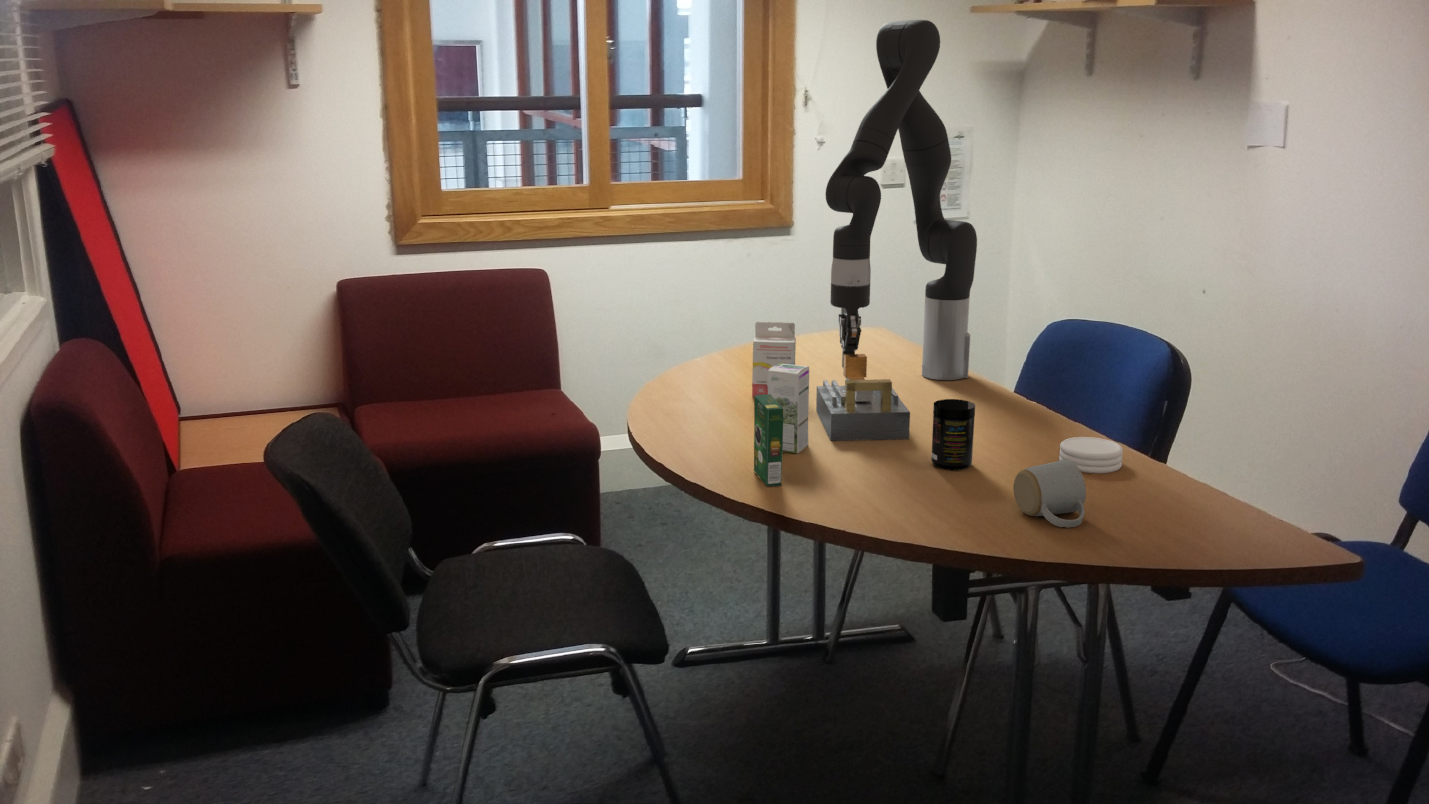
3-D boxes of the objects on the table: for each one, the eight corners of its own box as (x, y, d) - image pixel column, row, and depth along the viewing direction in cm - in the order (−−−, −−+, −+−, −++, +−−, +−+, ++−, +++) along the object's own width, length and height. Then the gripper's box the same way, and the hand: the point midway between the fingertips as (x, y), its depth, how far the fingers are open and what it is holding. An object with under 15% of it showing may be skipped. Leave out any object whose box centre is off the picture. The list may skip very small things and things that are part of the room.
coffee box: (783, 486, 183) (784, 406, 180) (766, 488, 182) (766, 407, 179) (770, 470, 191) (770, 393, 187) (753, 471, 190) (753, 394, 187)
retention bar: (863, 384, 223) (864, 353, 221) (875, 401, 211) (876, 369, 210) (843, 384, 223) (843, 354, 221) (853, 401, 211) (854, 369, 209)
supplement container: (979, 469, 191) (983, 407, 188) (943, 473, 189) (946, 411, 186) (959, 456, 197) (962, 397, 194) (923, 461, 195) (926, 401, 192)
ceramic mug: (1008, 507, 174) (1011, 458, 172) (1055, 500, 176) (1059, 452, 174) (1049, 533, 164) (1053, 482, 162) (1098, 526, 167) (1103, 476, 164)
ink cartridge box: (751, 398, 234) (751, 326, 230) (753, 391, 239) (753, 321, 235) (794, 398, 233) (795, 326, 229) (795, 392, 238) (796, 321, 234)
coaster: (1046, 459, 196) (1047, 439, 195) (1095, 452, 199) (1096, 433, 198) (1084, 478, 187) (1085, 457, 186) (1134, 470, 190) (1136, 450, 189)
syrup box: (809, 445, 204) (810, 364, 200) (797, 454, 198) (798, 372, 195) (779, 441, 206) (779, 361, 202) (766, 450, 201) (766, 369, 197)
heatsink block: (888, 409, 225) (890, 359, 222) (909, 439, 207) (911, 384, 204) (816, 411, 224) (817, 360, 222) (830, 440, 206) (831, 386, 203)
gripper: (876, 286, 216) (873, 377, 221) (864, 275, 229) (861, 361, 234) (836, 287, 216) (833, 377, 221) (826, 275, 229) (824, 361, 233)
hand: (848, 368), depth 227 cm, fingers closed
